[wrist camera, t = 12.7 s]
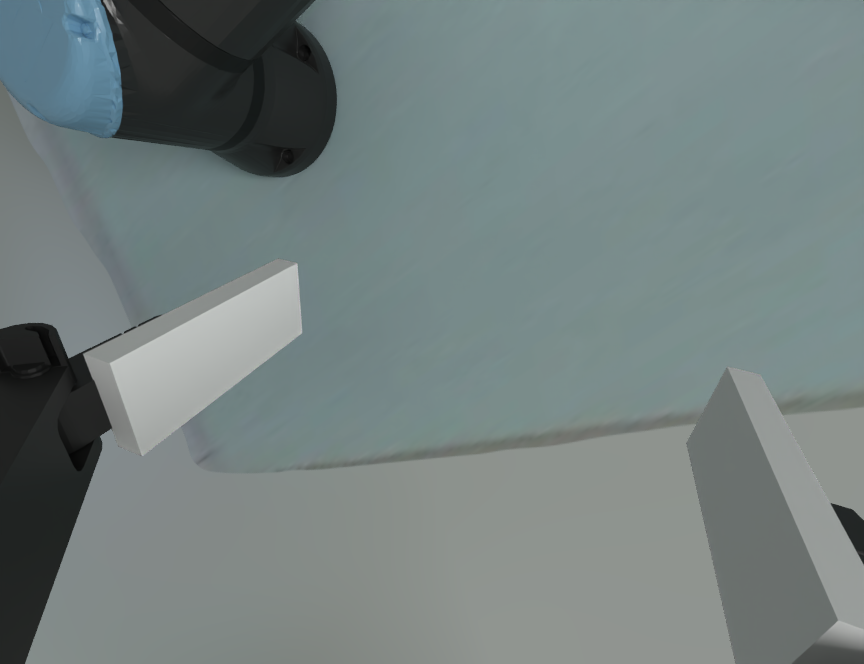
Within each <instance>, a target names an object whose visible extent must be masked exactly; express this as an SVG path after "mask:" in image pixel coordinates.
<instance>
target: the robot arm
mask: <svg viewBox="0 0 864 664" xmlns="http://www.w3.org/2000/svg"><path fill="white" fill-rule="evenodd" d="M314 1H315V0H0V80H1V82H2V83H3V85H4V86H5V87H6V89H7V90H8V91H9V92H10V94H11V95H12V96H13V97H14V98H15V99H16V100H17V101H18V102H19V103H20V104H21V105H22V106H23V107H24V108H26V109H27V110H28V111H30V112H31V113H32V114H34V115H35V116H37V117H38V118H40V119H42V120H44V121H47V122H49V123H51V124H54V125H57V126H60V127H65V128H69V129H74V130H79V131H84V132H89V133H90V134H93V135H95V136H97V137H100V138H109V137H112V138H120V139H128V140H136V141H143V142H151V143H159V144H166V145H174V146H182V147H190V148H197V149H205V150H210V151H212V152H214V153H215V154H217V155H219V156H220V157H222V158H224V159H225V160H227V161H229V162H230V163H232V164H234V165H235V166H237V167H239V168H240V169H242V170H244V171H247V172H249V173H252V174H256V175H261V176H271V177H285V176H290V175H294V174H296V173H299V172H301V171H302V170H304V169H306V168H307V167H308V166H310V165H311V164H312V163H313V162H314V161H315V160H316V159H317V158H318V157H319V155H320V154H321V153H322V151H323V150H324V148H325V146H326V144H327V142H328V140H329V138H330V135H331V133H332V130H333V126H334V122H335V116H336V106H337V95H336V85H335V79H334V75H333V71H332V68H331V65H330V62H329V60H328V58H327V56H326V54H325V52H324V50H323V48H322V46H321V45H320V43H319V42H318V41H317V39H316V38H315V37H314V36H313V35H312V34H311V33H310V32H309V31H308V30H307V29H306V28H305V27H303V26H302V25H301V24H299V23H298V22H296V21H295V20H296V19H297V18H298V17H299V16H300V15H301V14H302V13H303V12H304V11H305V10H306V9H307V8H308V7H309V6H310V5H311V4H312V3H313V2H314ZM300 334H302V322H301V308H300V294H299V280H298V266H297V263H295V262H291V261H287V260H282V259H276V260H274V261H272V262H270V263H268V264H266V265H264V266H262V267H260V268H258V269H256V270H254V271H251V272H249V273H247V274H245V275H243V276H241V277H239V278H237V279H235V280H233V281H231V282H229V283H227V284H225V285H223V286H221V287H219V288H217V289H215V290H213V291H211V292H209V293H207V294H204V295H202V296H200V297H198V298H196V299H194V300H192V301H190V302H188V303H186V304H184V305H182V306H180V307H178V308H176V309H174V310H172V311H170V312H168V313H166V314H163V315H159V316H156V317H153V318H151V319H149V320H147V321H145V322H143V323H141V324H139V325H138V327H133V328H131V329H129V330H127V331H125V332H124V334H118V335H117V336H114V337H112V338H110V339H108V340H106V341H104V342H102V343H100V344H98V345H96V346H94V347H92V348H90V349H87V350H85V351H83V352H81V353H79V354H77V355H75V356H73V357H71V358H69V359H68V357H67V354H66V352H65V349H64V347H63V344H62V342H61V340H60V337H59V335H58V332H57V330H56V328H54V327H53V326H52V325H48V324H44V323H27V324H20V325H14V326H10V327H7V328H3V329H0V664H25V662H26V659H27V656H28V653H29V650H30V647H31V645H32V642H33V639H34V636H35V634H36V631H37V628H38V625H39V623H40V620H41V617H42V614H43V612H44V609H45V606H46V603H47V600H48V598H49V595H50V592H51V589H52V587H53V584H54V581H55V578H56V575H57V573H58V570H59V567H60V564H61V562H62V559H63V556H64V553H65V550H66V548H67V545H68V542H69V539H70V536H71V534H72V531H73V528H74V525H75V523H76V519H77V517H78V514H79V511H80V509H81V506H82V503H83V501H84V497H85V495H86V492H87V489H88V487H89V484H90V481H91V478H92V476H93V473H94V470H95V467H96V464H97V462H98V459H99V456H100V453H101V451H102V441H101V438H100V436H101V435H102V434H104V433H105V432H107V431H108V430H110V429H112V431H113V434H114V436H115V439H116V442H117V444H118V446H119V447H121V448H123V449H126V450H128V451H130V452H133V453H135V454H138V455H140V456H143V455H145V454H146V453H147V452H148V451H150V450H151V449H152V448H154V447H155V446H156V445H157V444H159V443H160V442H161V441H163V440H164V439H165V438H167V437H168V436H169V435H170V434H172V433H173V432H174V431H176V430H177V429H178V428H179V427H181V426H182V425H184V424H185V423H186V422H187V421H189V420H190V419H191V418H193V417H194V416H195V415H197V414H198V413H199V412H200V411H202V410H203V409H204V408H206V407H207V406H208V405H209V404H211V403H212V402H213V401H215V400H216V399H217V398H219V397H220V396H221V395H222V394H224V393H225V392H226V391H228V390H229V389H230V388H232V387H233V386H234V385H235V384H237V383H238V382H239V381H241V380H242V379H243V378H245V377H246V376H247V375H248V374H250V373H251V372H252V371H254V370H255V369H256V368H257V367H259V366H260V365H261V364H263V363H264V362H265V361H267V360H268V359H269V358H270V357H272V356H273V355H274V354H276V353H277V352H278V351H280V350H281V349H282V348H283V347H285V346H286V345H287V344H289V343H290V342H291V341H293V340H294V339H295V338H296V337H298V336H299V335H300ZM686 444H687V448H688V452H689V457H690V461H691V466H692V471H693V475H694V479H695V484H696V489H697V493H698V498H699V501H700V506H701V511H702V515H703V520H704V524H705V529H706V533H707V538H708V542H709V547H710V551H711V556H712V560H713V565H714V569H715V574H716V578H717V583H718V587H719V592H720V596H721V600H722V605H723V610H724V614H725V619H726V623H727V627H728V632H729V636H730V641H731V646H732V650H733V655H734V659H735V663H736V664H864V520H863V519H862V518H861V517H859V516H858V515H857V513H856V512H855V511H854V510H852V509H849V508H845V507H842V506H839V505H835V504H832V503H830V502H829V500H828V498H827V496H826V495H825V493H824V491H823V489H822V487H821V485H820V484H819V482H818V480H817V479H816V476H815V474H814V473H813V471H812V469H811V467H810V465H809V463H808V461H807V460H806V458H805V456H804V454H803V452H802V451H801V449H800V447H799V445H798V443H797V441H796V439H795V438H794V436H793V434H792V432H791V430H790V428H789V427H788V425H787V423H786V421H785V419H784V417H783V415H782V414H781V412H780V410H779V408H778V406H777V404H776V403H775V401H774V399H773V397H772V395H771V393H770V392H769V390H768V388H767V386H766V384H765V382H764V381H763V379H762V377H761V375H760V374H756V373H752V372H748V371H744V370H740V369H735V368H731V367H727V368H726V370H725V372H724V374H723V376H722V377H721V379H720V381H719V383H718V385H717V387H716V389H715V390H714V392H713V394H712V396H711V398H710V400H709V402H708V404H707V405H706V407H705V409H704V411H703V413H702V415H701V417H700V419H699V420H698V422H697V424H696V426H695V428H694V430H693V432H692V434H691V435H690V437H689V439H688V441H687V443H686Z"/></svg>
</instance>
